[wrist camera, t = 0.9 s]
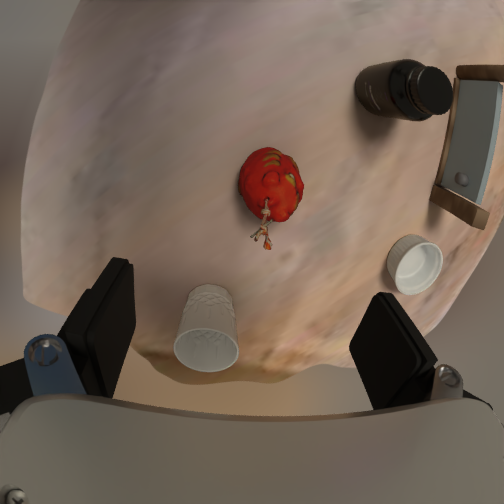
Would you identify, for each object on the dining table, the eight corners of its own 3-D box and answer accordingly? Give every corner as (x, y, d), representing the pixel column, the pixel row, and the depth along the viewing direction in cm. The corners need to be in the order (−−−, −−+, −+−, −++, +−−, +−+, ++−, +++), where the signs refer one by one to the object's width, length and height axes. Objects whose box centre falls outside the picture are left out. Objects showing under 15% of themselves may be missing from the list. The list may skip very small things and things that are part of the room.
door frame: (455, 61, 26) (518, 61, 14) (468, 70, 26) (530, 73, 15) (429, 200, 36) (486, 236, 24) (442, 203, 36) (498, 240, 25)
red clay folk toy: (303, 195, 35) (346, 249, 22) (251, 215, 36) (262, 281, 22) (282, 137, 32) (318, 155, 18) (226, 159, 32) (221, 193, 19)
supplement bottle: (344, 96, 29) (395, 93, 19) (367, 56, 27) (422, 40, 16) (386, 127, 31) (445, 139, 20) (407, 87, 29) (468, 87, 18)
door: (453, 75, 27) (491, 76, 19) (465, 83, 27) (502, 85, 20) (433, 182, 34) (469, 200, 27) (445, 186, 34) (480, 205, 27)
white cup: (196, 327, 44) (190, 376, 35) (174, 288, 40) (161, 336, 31) (244, 315, 43) (247, 364, 34) (226, 273, 39) (225, 321, 30)
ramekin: (387, 288, 43) (399, 304, 39) (378, 244, 39) (391, 259, 35) (430, 266, 42) (444, 279, 38) (425, 221, 38) (441, 233, 34)
